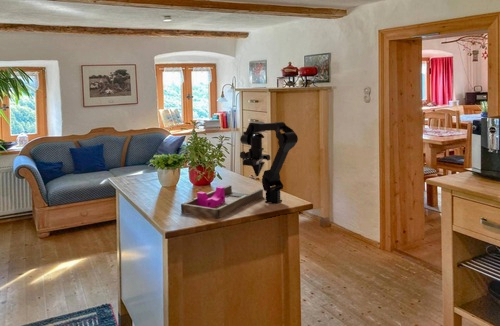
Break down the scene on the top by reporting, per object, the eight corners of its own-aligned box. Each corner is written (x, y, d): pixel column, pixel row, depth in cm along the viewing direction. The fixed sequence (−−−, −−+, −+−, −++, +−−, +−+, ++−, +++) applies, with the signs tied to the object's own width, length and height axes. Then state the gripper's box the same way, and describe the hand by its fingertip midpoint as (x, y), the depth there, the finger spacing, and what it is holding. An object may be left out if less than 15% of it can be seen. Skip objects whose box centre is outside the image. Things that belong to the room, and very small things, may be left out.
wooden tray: (262, 196, 235) (262, 188, 234) (217, 218, 201) (217, 209, 200) (229, 192, 246) (229, 184, 245) (181, 212, 212) (180, 203, 211)
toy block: (206, 209, 216) (205, 194, 214) (197, 207, 220) (196, 192, 218) (228, 202, 227) (227, 188, 225) (219, 200, 231) (219, 186, 229)
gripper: (252, 142, 242) (253, 171, 245) (233, 148, 227) (234, 178, 230) (270, 144, 237) (271, 173, 239) (252, 149, 221) (253, 180, 224)
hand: (257, 176), depth 233 cm, fingers closed
